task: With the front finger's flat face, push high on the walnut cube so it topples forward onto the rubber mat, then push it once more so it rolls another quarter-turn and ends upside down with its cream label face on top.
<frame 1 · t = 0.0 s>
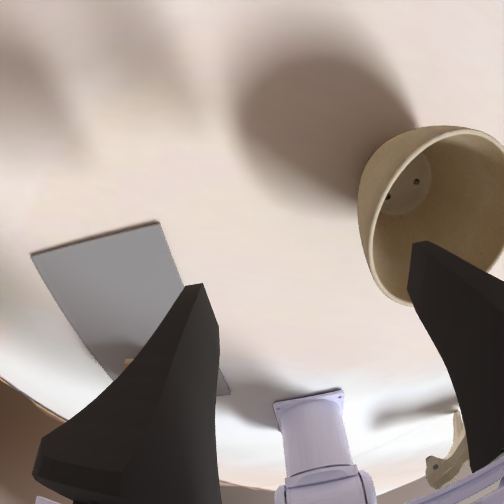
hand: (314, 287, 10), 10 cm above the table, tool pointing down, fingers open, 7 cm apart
mat: (137, 337, 25), on the table
flower pot: (396, 178, 19), on the table
sculpture: (475, 398, 40), on the table
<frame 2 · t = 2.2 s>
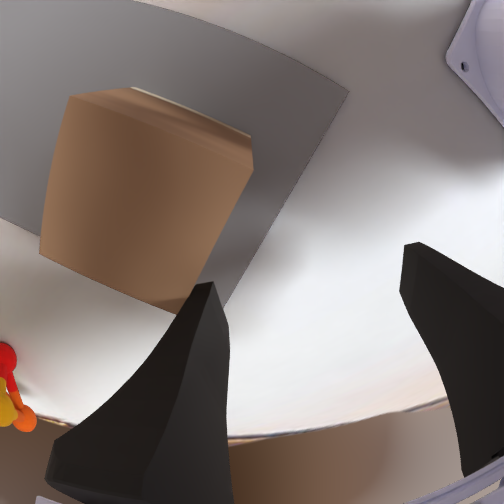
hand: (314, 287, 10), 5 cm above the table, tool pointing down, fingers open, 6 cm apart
mat: (70, 127, 11), on the table
walnut cube: (166, 165, 12), resting on mat, touching gripper
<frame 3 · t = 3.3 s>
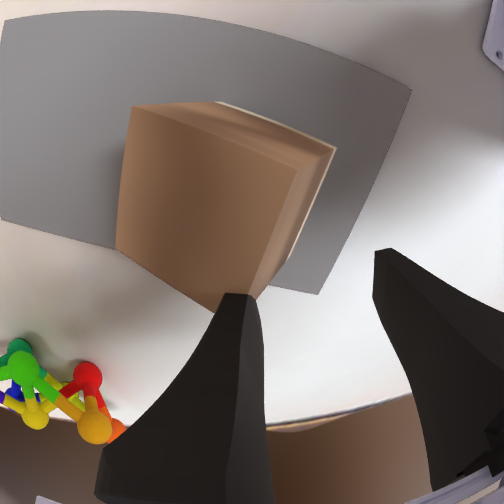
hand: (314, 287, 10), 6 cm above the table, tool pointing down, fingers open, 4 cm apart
mat: (155, 145, 13), on the table
decorative model: (60, 360, 23), on the table
walnut cube: (256, 178, 12), point 1 cm above the table, tilted 26°, touching gripper, mat
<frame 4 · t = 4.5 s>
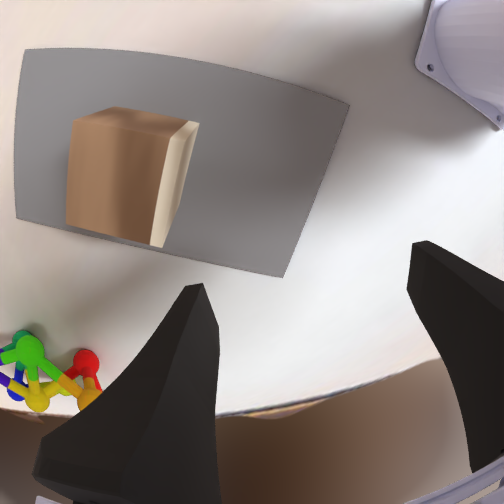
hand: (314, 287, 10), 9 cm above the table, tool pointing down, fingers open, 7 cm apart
mat: (149, 157, 17), on the table
decorative model: (61, 350, 26), on the table
walnut cube: (181, 179, 15), point 3 cm above the table, tilted 90°, touching mat
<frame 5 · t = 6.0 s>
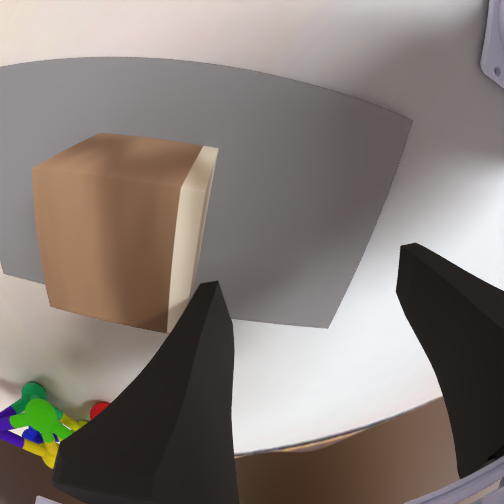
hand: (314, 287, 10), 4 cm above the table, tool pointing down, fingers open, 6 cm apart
mat: (154, 198, 13), on the table
decorative model: (75, 400, 23), on the table
walnut cube: (201, 233, 11), point 3 cm above the table, tilted 91°, touching gripper, mat
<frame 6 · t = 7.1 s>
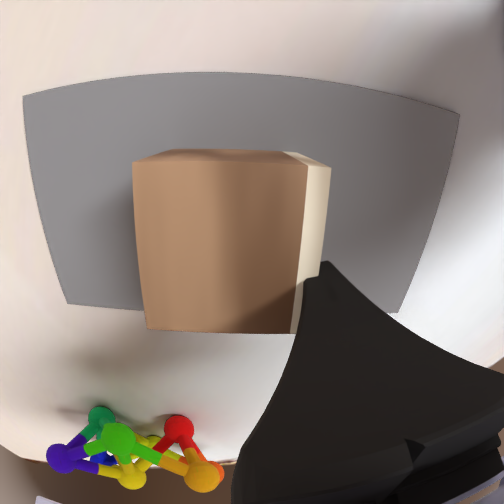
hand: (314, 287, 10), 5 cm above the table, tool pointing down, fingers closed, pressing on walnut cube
mat: (236, 210, 14), on the table
decorative model: (144, 417, 25), on the table
walnut cube: (303, 230, 11), point 3 cm above the table, tilted 91°, touching gripper, mat
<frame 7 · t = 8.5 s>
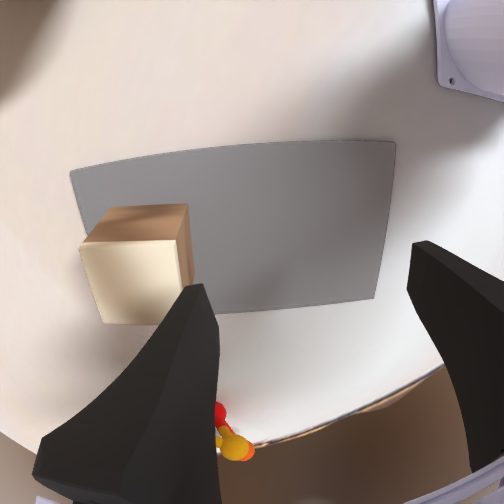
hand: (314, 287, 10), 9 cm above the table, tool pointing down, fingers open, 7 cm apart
mat: (237, 239, 20), on the table
decorative model: (184, 408, 31), on the table
walnut cube: (133, 289, 15), point 5 cm above the table, tilted 180°, touching mat
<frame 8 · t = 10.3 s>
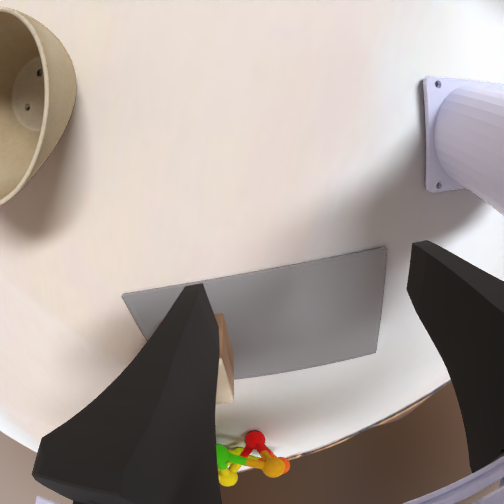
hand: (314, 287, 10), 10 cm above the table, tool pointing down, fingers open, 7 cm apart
mat: (264, 330, 25), on the table
decorative model: (230, 436, 37), on the table
flower pot: (46, 91, 14), on the table
walnut cube: (193, 387, 21), point 5 cm above the table, tilted 180°, touching mat
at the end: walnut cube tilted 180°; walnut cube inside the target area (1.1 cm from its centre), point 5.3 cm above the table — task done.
